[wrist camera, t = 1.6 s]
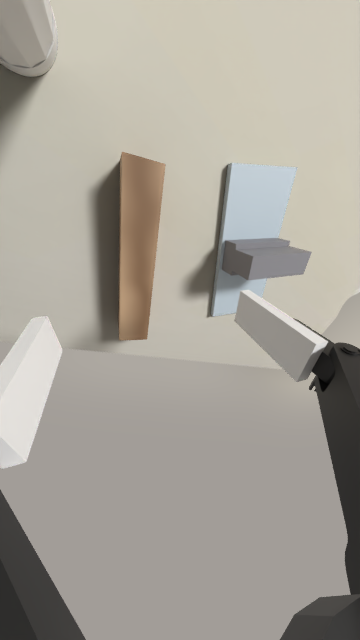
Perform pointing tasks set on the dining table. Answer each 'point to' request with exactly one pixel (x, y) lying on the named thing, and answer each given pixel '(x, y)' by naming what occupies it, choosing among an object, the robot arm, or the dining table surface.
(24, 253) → the dining table surface
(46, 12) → the cup
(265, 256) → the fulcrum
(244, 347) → the dining table surface
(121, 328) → the bar
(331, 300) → the dining table surface
